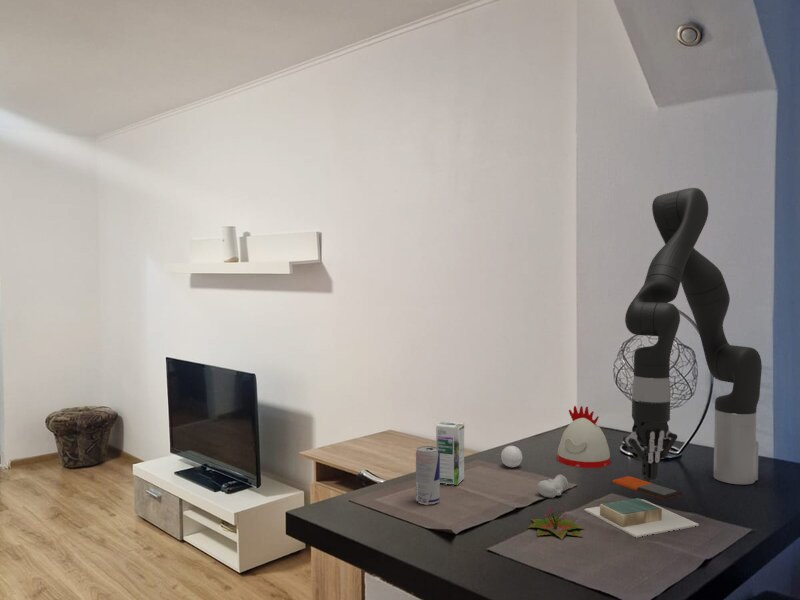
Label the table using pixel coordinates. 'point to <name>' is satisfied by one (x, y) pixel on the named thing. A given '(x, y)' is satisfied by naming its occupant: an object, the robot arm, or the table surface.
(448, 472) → the syrup box
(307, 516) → the table surface
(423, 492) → the energy drink
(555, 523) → the lily flower
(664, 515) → the mat
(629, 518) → the slab
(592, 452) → the kitchen timer
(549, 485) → the smooth white sculpture
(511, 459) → the seamed sphere
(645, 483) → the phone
